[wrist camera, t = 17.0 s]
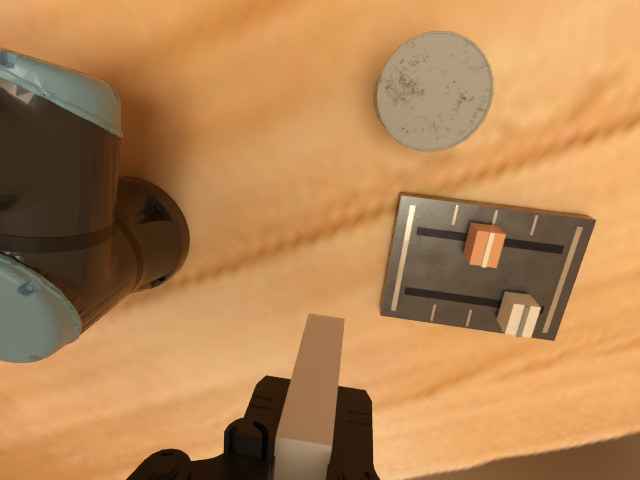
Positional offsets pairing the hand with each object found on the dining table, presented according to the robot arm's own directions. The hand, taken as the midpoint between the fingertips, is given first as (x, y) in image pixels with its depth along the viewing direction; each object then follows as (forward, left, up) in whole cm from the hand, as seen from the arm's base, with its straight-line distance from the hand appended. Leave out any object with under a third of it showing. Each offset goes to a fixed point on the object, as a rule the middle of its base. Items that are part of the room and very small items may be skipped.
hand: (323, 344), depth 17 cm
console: (+17, -8, -34) cm, 39 cm away
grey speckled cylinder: (+6, +11, -35) cm, 37 cm away
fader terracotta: (+16, -4, -32) cm, 36 cm away
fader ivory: (+22, -12, -32) cm, 40 cm away
